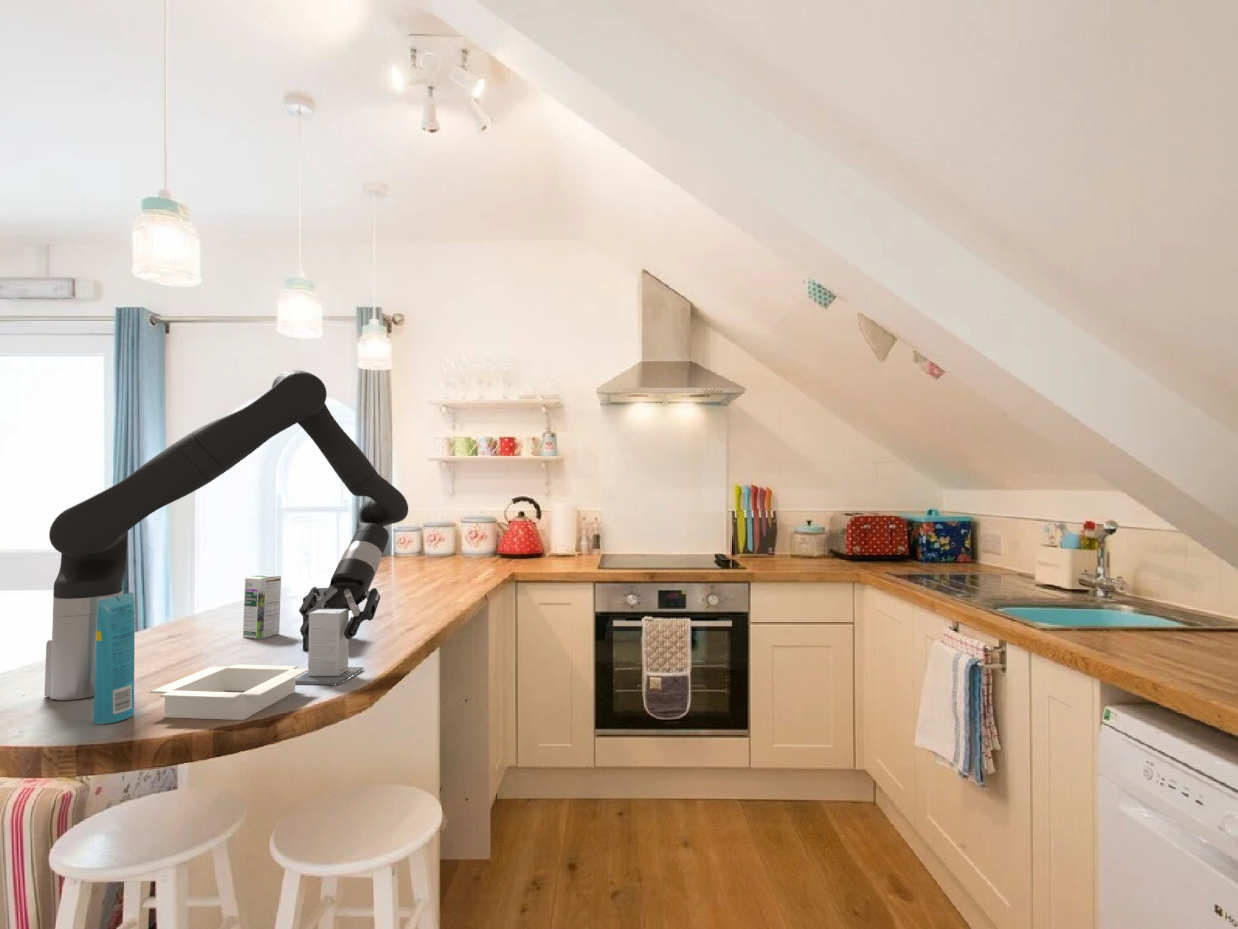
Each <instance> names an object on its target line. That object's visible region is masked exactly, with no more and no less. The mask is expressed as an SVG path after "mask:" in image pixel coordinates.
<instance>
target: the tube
mask: <svg viewBox="0 0 1238 929" xmlns="http://www.w3.org/2000/svg"><path fill="white" fill-rule="evenodd" d="M135 631H136V630H135V598H134V593H133V592H132V591H131V592H127V593H124V594H122V595H120V596H116V597H111V598H106V599H102V600H98V613H97V632H96V668H95V696H93V697H94V699H93V700H94V701H93V702H94V703H93V723H94V724H95V725H108V724H109V725H110V724H114V723H118V722H121V721H124V720H127V719H130V718H132V717H133V716H134V714H135Z"/></svg>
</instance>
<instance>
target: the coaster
mask: <svg viewBox="0 0 1238 929" xmlns="http://www.w3.org/2000/svg"><path fill="white" fill-rule="evenodd" d="M362 669H363V670H364V666H362V667H361V666H359V667H358V666H348V670H347V671H345V672H344V673H343V674H341V675H340V676H308V672H306V673H304V674H302V675H300V676H298V677H296V678H295V685H314V684H323V685H322V686H326V685H325V684H328V685H327V686H330V685H329V684H333V685H332V686H340V685H341V684H340V683H342V682H343V681H345V680H347V679H348V678H349V677H351V676H352V675H355V674H356V673H358V672H359V671H361V670H362ZM361 672H362V671H361ZM358 674H359V673H358ZM356 675H357V674H356ZM356 675H355V676H356ZM351 678H352V677H351ZM348 680H349V679H348ZM348 680H347V681H348ZM345 682H346V681H345ZM343 683H344V682H343ZM343 683H342V684H343ZM335 684H336V685H335ZM339 684H340V685H339Z"/></svg>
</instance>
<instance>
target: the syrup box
mask: <svg viewBox="0 0 1238 929" xmlns="http://www.w3.org/2000/svg"><path fill="white" fill-rule="evenodd" d="M281 586H282V575H269V574H266V575H265V574H256V575H250V576H247V577H245V578H244V595H243V596H244V598H243V599H244V600H243V625H242V626H243V627H242V628H243V629H242V637H243V638H247V639H248V638H250V639H256V638H257V639H258V640H261V638H262V639H265V638H269V637H273V636H275V635H280V621H281V620H280V619H281V617H280V616H281V591H282V587H281ZM257 639H256V640H257Z"/></svg>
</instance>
